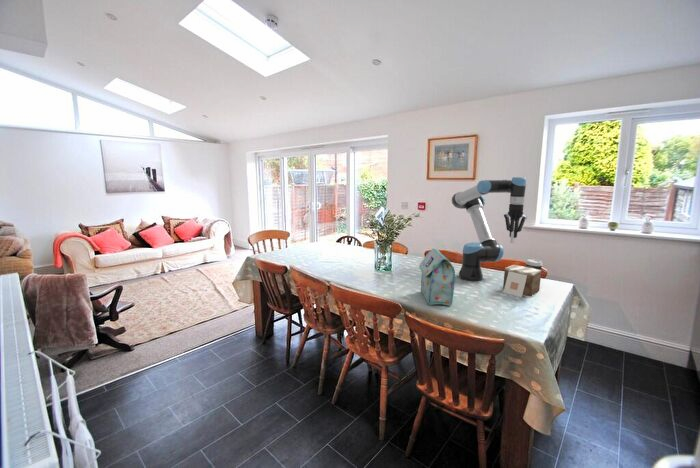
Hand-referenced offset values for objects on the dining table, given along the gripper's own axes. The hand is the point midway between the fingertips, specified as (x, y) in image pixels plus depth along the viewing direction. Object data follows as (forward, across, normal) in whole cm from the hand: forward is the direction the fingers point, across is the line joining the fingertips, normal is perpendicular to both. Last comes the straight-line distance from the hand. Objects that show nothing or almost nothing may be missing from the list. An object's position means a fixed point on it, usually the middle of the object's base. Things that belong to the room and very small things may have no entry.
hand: (512, 242), depth 192 cm
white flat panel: (+22, +8, -9) cm, 25 cm away
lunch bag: (+28, -15, -52) cm, 61 cm away
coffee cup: (+28, +7, +17) cm, 33 cm away
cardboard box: (+28, +8, 0) cm, 29 cm away
